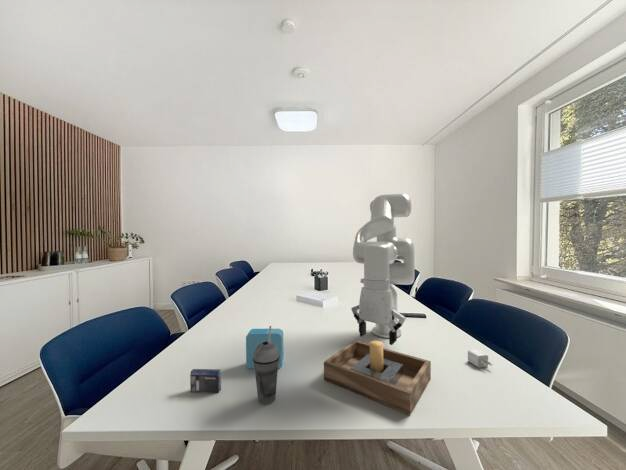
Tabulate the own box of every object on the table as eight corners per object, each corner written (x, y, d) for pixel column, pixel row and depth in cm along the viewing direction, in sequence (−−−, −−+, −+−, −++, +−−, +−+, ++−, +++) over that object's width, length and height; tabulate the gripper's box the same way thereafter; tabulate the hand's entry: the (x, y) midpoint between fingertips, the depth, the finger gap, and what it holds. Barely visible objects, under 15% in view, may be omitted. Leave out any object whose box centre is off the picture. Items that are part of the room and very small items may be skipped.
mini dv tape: (190, 392, 74) (190, 371, 74) (193, 389, 76) (192, 369, 76) (218, 393, 74) (218, 372, 74) (220, 389, 76) (220, 369, 76)
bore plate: (368, 362, 88) (367, 353, 88) (403, 374, 81) (403, 364, 81) (350, 378, 79) (350, 368, 79) (388, 393, 72) (388, 382, 72)
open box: (355, 355, 96) (355, 340, 96) (430, 378, 80) (430, 361, 80) (323, 379, 80) (323, 362, 80) (410, 415, 64) (409, 393, 64)
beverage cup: (255, 392, 74) (254, 322, 74) (280, 390, 75) (280, 321, 75) (251, 409, 67) (250, 332, 67) (279, 407, 68) (278, 330, 67)
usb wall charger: (478, 360, 91) (477, 349, 91) (494, 370, 84) (494, 358, 84) (467, 361, 91) (467, 350, 91) (483, 372, 84) (483, 359, 84)
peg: (368, 376, 80) (367, 344, 80) (373, 371, 83) (372, 339, 83) (380, 381, 77) (380, 347, 77) (385, 375, 81) (385, 342, 81)
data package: (283, 362, 91) (283, 328, 91) (282, 369, 87) (281, 333, 87) (249, 362, 91) (249, 328, 91) (246, 369, 87) (245, 333, 87)
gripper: (345, 283, 82) (346, 336, 83) (400, 290, 72) (400, 351, 72) (357, 278, 88) (357, 328, 89) (409, 285, 78) (409, 341, 78)
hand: (377, 339), depth 80 cm, fingers open, 9 cm apart
